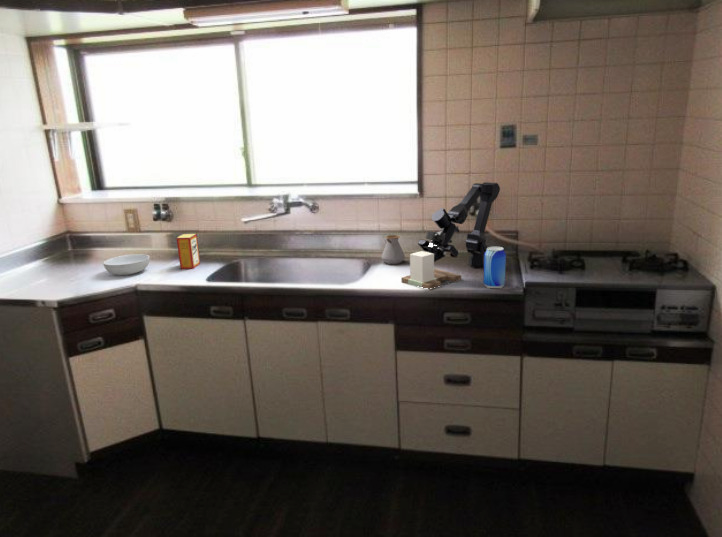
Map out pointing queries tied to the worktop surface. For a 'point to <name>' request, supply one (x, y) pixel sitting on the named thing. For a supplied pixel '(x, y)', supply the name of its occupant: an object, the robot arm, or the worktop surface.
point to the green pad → (417, 282)
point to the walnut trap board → (441, 277)
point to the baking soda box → (188, 251)
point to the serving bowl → (127, 264)
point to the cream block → (422, 266)
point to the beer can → (494, 267)
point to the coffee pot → (393, 251)
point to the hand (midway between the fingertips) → (428, 264)
